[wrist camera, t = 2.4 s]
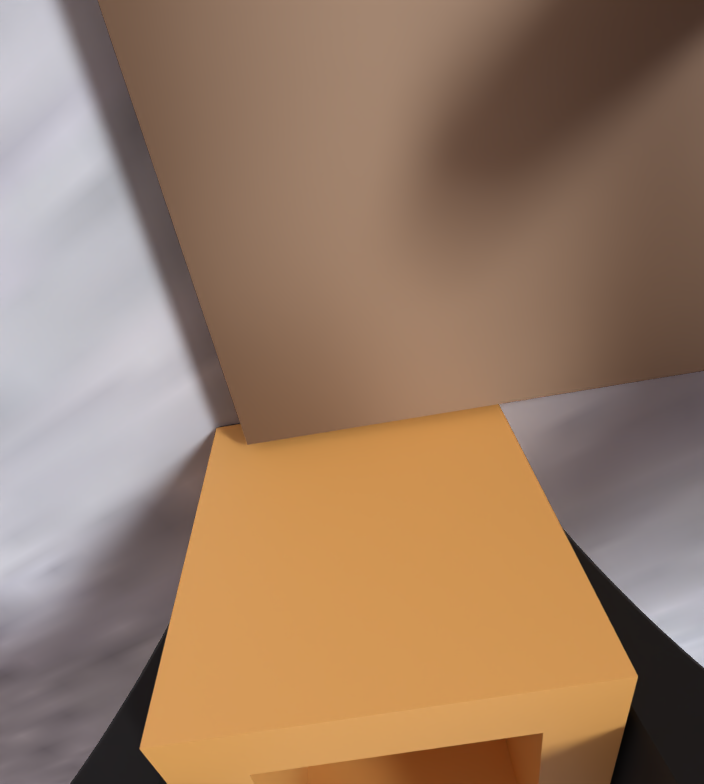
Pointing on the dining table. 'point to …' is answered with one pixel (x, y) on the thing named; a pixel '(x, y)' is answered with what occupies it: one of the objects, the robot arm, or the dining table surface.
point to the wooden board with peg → (427, 195)
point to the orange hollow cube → (385, 618)
